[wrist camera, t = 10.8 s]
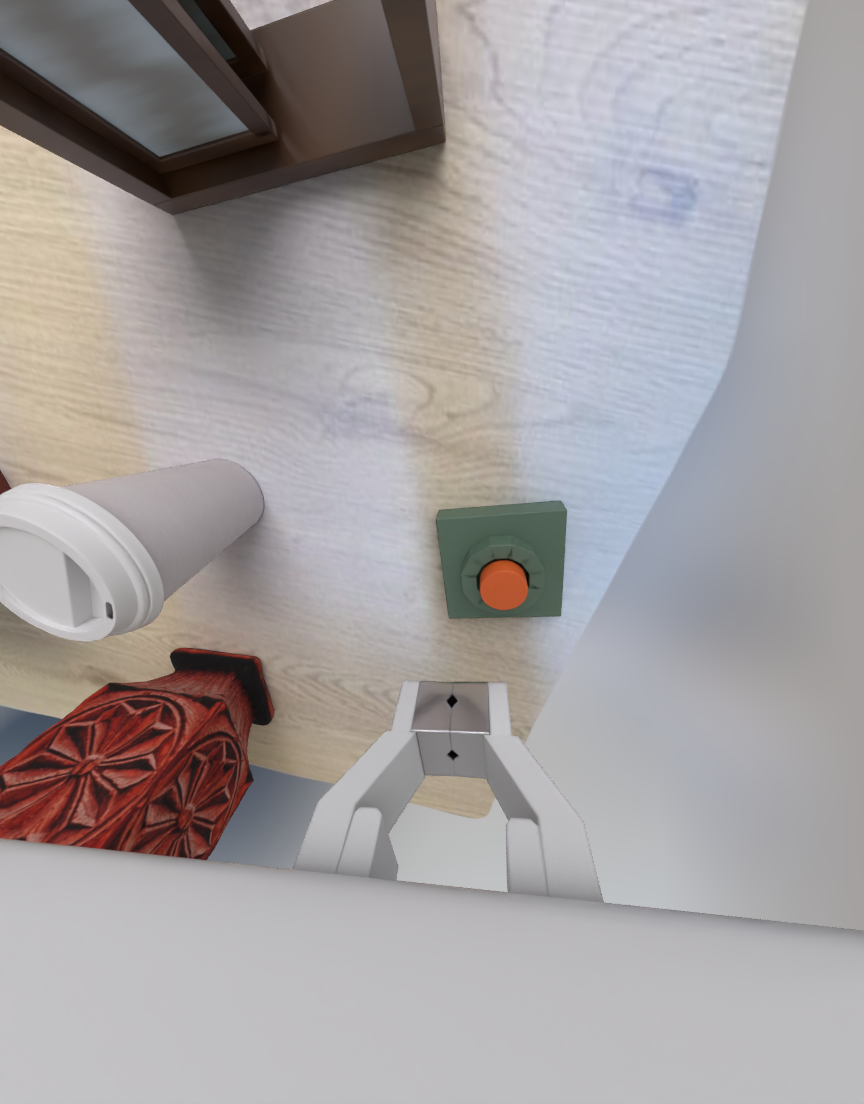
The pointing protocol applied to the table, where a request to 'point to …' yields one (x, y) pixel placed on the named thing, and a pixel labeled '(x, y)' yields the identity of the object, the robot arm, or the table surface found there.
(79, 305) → the table surface
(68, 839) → the vase
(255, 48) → the sliding window sash
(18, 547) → the coffee cup
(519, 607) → the button block
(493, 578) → the button
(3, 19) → the window frame
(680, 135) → the table surface
